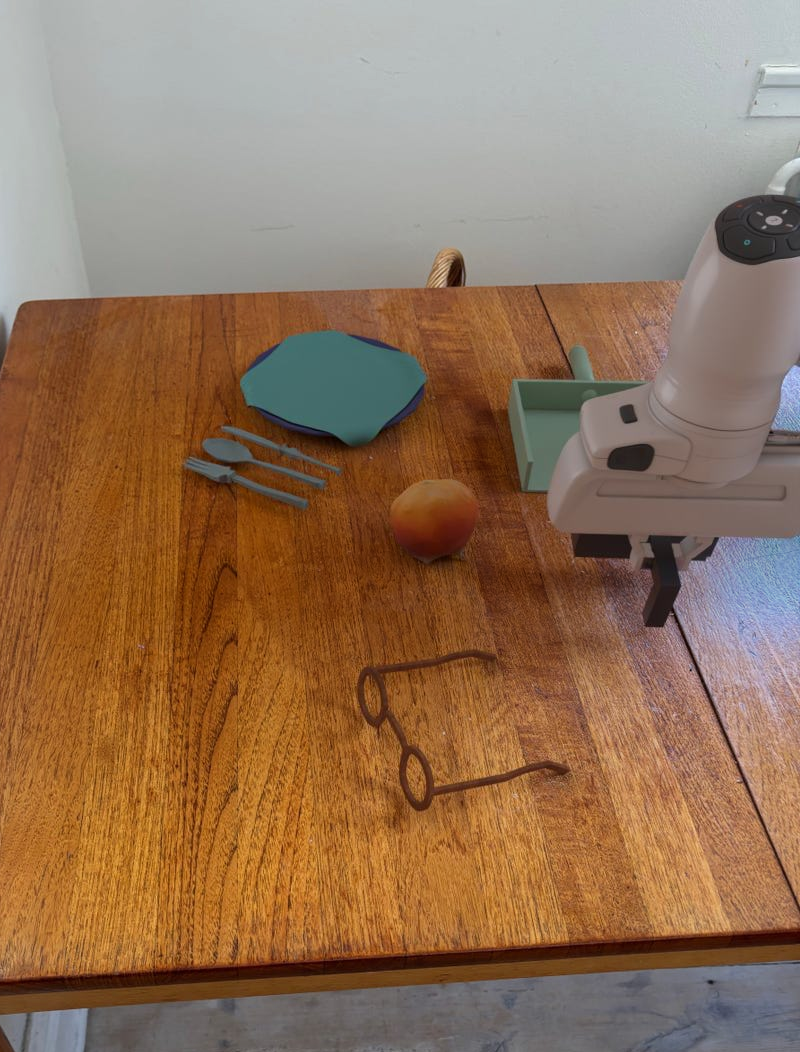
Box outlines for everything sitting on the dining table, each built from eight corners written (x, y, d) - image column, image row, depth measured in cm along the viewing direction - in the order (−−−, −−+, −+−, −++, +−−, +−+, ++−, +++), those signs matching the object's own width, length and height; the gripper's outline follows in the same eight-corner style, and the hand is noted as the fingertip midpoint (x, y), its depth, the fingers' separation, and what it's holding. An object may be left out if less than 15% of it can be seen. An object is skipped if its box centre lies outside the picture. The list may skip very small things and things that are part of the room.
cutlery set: (454, 379, 118) (456, 361, 117) (318, 527, 101) (318, 508, 99) (304, 330, 125) (304, 313, 123) (152, 461, 107) (150, 443, 106)
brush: (568, 534, 94) (580, 491, 90) (701, 538, 94) (720, 495, 90) (582, 625, 88) (596, 583, 84) (725, 629, 88) (746, 587, 83)
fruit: (424, 583, 93) (408, 496, 91) (387, 569, 100) (372, 488, 98) (502, 558, 95) (488, 473, 93) (461, 547, 103) (447, 467, 100)
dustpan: (692, 495, 104) (702, 464, 102) (522, 492, 104) (528, 461, 102) (646, 366, 120) (654, 336, 118) (499, 363, 121) (503, 334, 118)
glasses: (352, 698, 86) (354, 658, 82) (494, 657, 89) (502, 616, 85) (418, 826, 77) (423, 787, 74) (572, 776, 81) (584, 736, 77)
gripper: (831, 407, 79) (771, 544, 89) (561, 400, 79) (532, 537, 90) (858, 458, 75) (792, 595, 85) (573, 451, 75) (541, 589, 85)
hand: (657, 566), depth 87 cm, fingers closed on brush
